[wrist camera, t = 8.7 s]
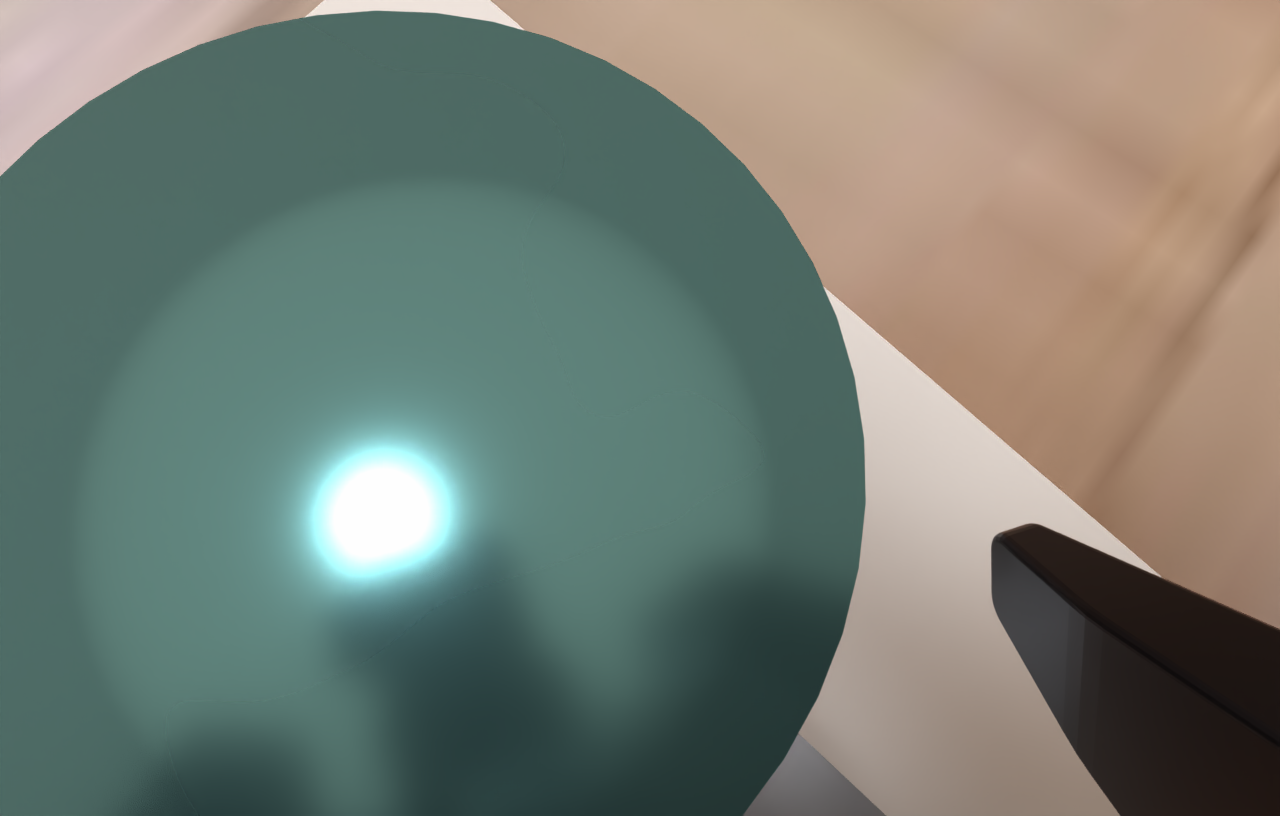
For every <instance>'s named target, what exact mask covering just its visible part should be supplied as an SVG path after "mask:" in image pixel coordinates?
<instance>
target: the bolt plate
mask: <svg viewBox="0 0 1280 816" xmlns="http://www.w3.org/2000/svg"><path fill="white" fill-rule="evenodd" d="M363 11H402V12H429V13H440V14H447V15H453V16H459V17H466V18H472V19H479V20H485V21H491V22H496V23H500V24H503V25H507V26H510V27H514V28H517V29H521V30H524V29H523V28H522V27H520V26H519V25H518V24H517V23H516V22H515V21H514V20H512V19H511V18H510V17H509V16H508V15H507V14H505V13H504V12H503V11H502V10H501V9H500V8H498V7H497V6H496V5H495V4H494V3H493V2H491V1H490V0H324V1H323V2H322V3H321V4H319V5H318V6H317V7H316V8H315V9H314V10H313V11H311V12H310V13H309V14H308V15H307V16H306V17H309V16H315V15H325V14H338V13H350V12H363ZM824 289H825V292H826V294H827V296H828V298H829V301H830V303H831V305H832V307H833V310H834V312H835V314H836V316H837V319H838V322H839V326H840V329H841V333H842V336H843V339H844V343H845V346H846V350H847V353H848V356H849V360H850V363H851V367H852V370H853V373H854V377H855V383H856V389H857V396H858V402H859V409H860V415H861V421H862V428H863V434H864V449H865V492H866V506H865V515H864V524H863V533H862V543H861V552H860V561H859V569H858V573H857V577H856V582H855V586H854V590H853V594H852V598H851V602H850V606H849V610H848V614H847V618H846V623H845V627H844V631H843V634H842V637H841V640H840V642H839V645H838V647H837V650H836V652H835V655H834V658H833V660H832V663H831V665H830V668H829V670H828V673H827V676H826V678H825V681H824V683H823V686H822V688H821V691H820V694H819V696H818V698H817V700H816V702H815V704H814V706H813V707H812V709H811V711H810V713H809V715H808V717H807V718H806V720H805V722H804V724H803V726H802V727H801V729H800V731H799V734H800V735H801V736H802V737H803V738H804V739H805V740H806V741H807V742H808V743H809V744H810V745H811V746H813V747H814V748H815V749H816V750H817V751H818V752H819V753H820V754H821V755H822V756H823V757H824V758H825V759H826V760H827V761H829V762H830V763H831V764H832V765H833V766H834V767H835V768H836V769H837V770H838V771H839V772H840V773H841V774H842V775H843V776H845V777H846V778H847V779H848V780H849V781H850V782H851V783H852V784H853V785H854V786H855V787H856V788H857V789H858V790H859V791H861V792H862V793H863V794H864V795H865V796H866V797H867V798H868V799H869V800H870V801H871V802H872V803H873V804H874V805H875V806H877V807H878V808H879V809H880V810H881V811H882V812H883V813H884V814H885V815H886V816H1120V815H1119V813H1118V812H1117V811H1116V809H1115V808H1114V807H1113V805H1112V804H1111V802H1110V801H1109V800H1108V798H1107V797H1106V795H1105V794H1104V793H1103V791H1102V790H1101V789H1100V787H1099V786H1098V784H1097V783H1096V782H1095V780H1094V779H1093V777H1092V776H1091V775H1090V773H1089V772H1088V770H1087V769H1086V767H1085V766H1084V764H1083V763H1082V761H1081V760H1080V759H1079V757H1078V756H1077V754H1076V753H1075V751H1074V749H1073V748H1072V746H1071V744H1070V743H1069V741H1068V739H1067V738H1066V736H1065V734H1064V733H1063V731H1062V729H1061V727H1060V726H1059V724H1058V722H1057V720H1056V719H1055V717H1054V715H1053V713H1052V712H1051V710H1050V708H1049V706H1048V705H1047V703H1046V701H1045V699H1044V698H1043V696H1042V694H1041V692H1040V691H1039V689H1038V687H1037V685H1036V684H1035V682H1034V680H1033V678H1032V676H1031V675H1030V673H1029V671H1028V669H1027V668H1026V666H1025V664H1024V662H1023V661H1022V659H1021V657H1020V655H1019V654H1018V652H1017V650H1016V648H1015V647H1014V645H1013V643H1012V641H1011V640H1010V638H1009V636H1008V634H1007V633H1006V631H1005V629H1004V627H1003V626H1002V624H1001V622H1000V620H999V618H998V616H997V614H996V611H995V609H994V605H993V601H992V594H991V544H992V540H993V538H994V536H995V535H996V534H998V533H1000V532H1003V531H1006V530H1009V529H1012V528H1015V527H1018V526H1022V525H1025V524H1028V523H1035V524H1040V525H1043V526H1045V527H1047V528H1050V529H1052V530H1054V531H1056V532H1059V533H1061V534H1063V535H1066V536H1068V537H1070V538H1072V539H1075V540H1077V541H1079V542H1082V543H1084V544H1086V545H1088V546H1091V547H1093V548H1095V549H1098V550H1100V551H1102V552H1104V553H1107V554H1109V555H1111V556H1114V557H1116V558H1118V559H1120V560H1123V561H1125V562H1127V563H1130V564H1132V565H1134V566H1136V567H1139V568H1141V569H1143V570H1146V571H1148V572H1150V573H1152V574H1155V575H1157V576H1159V577H1161V576H1160V575H1159V574H1158V573H1156V572H1155V571H1154V570H1153V569H1152V568H1151V567H1149V566H1148V565H1147V564H1146V563H1145V562H1144V561H1142V560H1141V559H1140V558H1139V557H1138V556H1137V555H1135V554H1134V553H1133V552H1132V551H1131V550H1130V549H1128V548H1127V547H1126V546H1125V545H1124V544H1123V543H1121V542H1120V541H1119V540H1118V539H1117V538H1116V537H1114V536H1113V535H1112V534H1111V533H1110V532H1109V531H1107V530H1106V529H1105V528H1104V527H1103V526H1102V525H1101V524H1099V523H1098V522H1097V521H1096V520H1095V519H1094V518H1092V517H1091V516H1090V515H1089V514H1088V513H1087V512H1085V511H1084V510H1083V509H1082V508H1081V507H1080V506H1078V505H1077V504H1076V503H1075V502H1074V501H1073V500H1071V499H1070V498H1069V497H1068V496H1067V495H1066V494H1064V493H1063V492H1062V491H1061V490H1060V489H1059V488H1057V487H1056V486H1055V485H1054V484H1053V483H1052V482H1050V481H1049V480H1048V479H1047V478H1046V477H1045V476H1043V475H1042V474H1041V473H1040V472H1039V471H1038V470H1036V469H1035V468H1034V467H1033V466H1032V465H1031V464H1029V463H1028V462H1027V461H1026V460H1025V459H1024V458H1022V457H1021V456H1020V455H1019V454H1018V453H1017V452H1015V451H1014V450H1013V449H1012V448H1011V447H1010V446H1008V445H1007V444H1006V443H1005V442H1004V441H1003V440H1002V439H1000V438H999V437H998V436H997V435H996V434H995V433H993V432H992V431H991V430H990V429H989V428H988V427H986V426H985V425H984V424H983V423H982V422H981V421H979V420H978V419H977V418H976V417H975V416H974V415H972V414H971V413H970V412H969V411H968V410H967V409H965V408H964V407H963V406H962V405H961V404H960V403H958V402H957V401H956V400H955V399H954V398H953V397H951V396H950V395H949V394H948V393H947V392H946V391H944V390H943V389H942V388H941V387H940V386H939V385H937V384H936V383H935V382H934V381H933V380H932V379H930V378H929V377H928V376H927V375H926V374H925V373H923V372H922V371H921V370H920V369H919V368H918V367H916V366H915V365H914V364H913V363H912V362H911V361H909V360H908V359H907V358H906V357H905V356H904V355H903V354H901V353H900V352H899V351H898V350H897V349H896V348H894V347H893V346H892V345H891V344H890V343H889V342H887V341H886V340H885V339H884V338H883V337H882V336H880V335H879V334H878V333H877V332H876V331H875V330H873V329H872V328H871V327H870V326H869V325H868V324H866V323H865V322H864V321H863V320H862V319H861V318H859V317H858V316H857V315H856V314H855V313H854V312H852V311H851V310H850V309H849V308H848V307H847V306H845V305H844V304H843V303H842V302H841V301H840V300H838V299H837V298H836V297H835V296H834V295H833V294H831V293H830V292H829V291H828V290H827V289H826V288H824Z"/></svg>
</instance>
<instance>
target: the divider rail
mask: <svg viewBox="0 0 1280 816" xmlns="http://www.w3.org/2000/svg"><path fill="white" fill-rule="evenodd" d="M743 816H886V815H885V814H884V813H883V812H882V811H881V810H880V809H879V808H878V807H877V806H875V805H874V804H873V803H872V802H871V801H870V800H869V799H868V798H867V797H866V796H865V795H864V794H863V793H862V792H861V791H859V790H858V789H857V788H856V787H855V786H854V785H853V784H852V783H851V782H850V781H849V780H848V779H847V778H846V777H845V776H843V775H842V774H841V773H840V772H839V771H838V770H837V769H836V768H835V767H834V766H833V765H832V764H831V763H830V762H829V761H827V760H826V759H825V758H824V757H823V756H822V755H821V754H820V753H819V752H818V751H817V750H816V749H815V748H814V747H813V746H811V745H810V744H809V743H808V742H807V741H806V740H805V739H804V738H803V737H802V736H801V735H800V734H799V733H798V735H797V737H796V738H795V740H794V742H793V744H792V746H791V747H790V749H789V751H788V753H787V755H786V757H785V758H784V760H783V761H782V763H781V764H780V765H779V767H778V768H777V769H776V771H775V772H774V773H773V775H772V776H771V778H770V779H769V780H768V782H767V783H766V784H765V786H764V787H763V788H762V790H761V791H760V793H759V794H758V795H757V797H756V798H755V799H754V801H753V802H752V803H751V805H750V806H749V807H748V809H747V810H746V812H745V813H744V814H743Z"/></svg>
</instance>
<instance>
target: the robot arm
mask: <svg viewBox="0 0 1280 816" xmlns="http://www.w3.org/2000/svg"><path fill="white" fill-rule="evenodd" d="M991 594H992V601H993V605H994V609H995V611H996V614H997V616H998V618H999V620H1000V622H1001V624H1002V626H1003V627H1004V629H1005V631H1006V633H1007V634H1008V636H1009V638H1010V640H1011V641H1012V643H1013V645H1014V647H1015V648H1016V650H1017V652H1018V654H1019V655H1020V657H1021V659H1022V661H1023V662H1024V664H1025V666H1026V668H1027V669H1028V671H1029V673H1030V675H1031V676H1032V678H1033V680H1034V682H1035V684H1036V685H1037V687H1038V689H1039V691H1040V692H1041V694H1042V696H1043V698H1044V699H1045V701H1046V703H1047V705H1048V706H1049V708H1050V710H1051V712H1052V713H1053V715H1054V717H1055V719H1056V720H1057V722H1058V724H1059V726H1060V727H1061V729H1062V731H1063V733H1064V734H1065V736H1066V738H1067V739H1068V741H1069V743H1070V744H1071V746H1072V748H1073V749H1074V751H1075V753H1076V754H1077V756H1078V757H1079V759H1080V760H1081V761H1082V763H1083V764H1084V766H1085V767H1086V769H1087V770H1088V772H1089V773H1090V775H1091V776H1092V777H1093V779H1094V780H1095V782H1096V783H1097V784H1098V786H1099V787H1100V789H1101V790H1102V791H1103V793H1104V794H1105V795H1106V797H1107V798H1108V800H1109V801H1110V802H1111V804H1112V805H1113V807H1114V808H1115V809H1116V811H1117V812H1118V813H1119V815H1120V816H1280V629H1278V628H1276V627H1274V626H1271V625H1269V624H1267V623H1264V622H1262V621H1260V620H1258V619H1255V618H1253V617H1251V616H1248V615H1246V614H1244V613H1242V612H1239V611H1237V610H1235V609H1232V608H1230V607H1228V606H1226V605H1223V604H1221V603H1219V602H1216V601H1214V600H1212V599H1210V598H1207V597H1205V596H1203V595H1200V594H1198V593H1196V592H1194V591H1191V590H1189V589H1187V588H1184V587H1182V586H1180V585H1178V584H1175V583H1173V582H1171V581H1168V580H1166V579H1164V578H1162V577H1159V576H1157V575H1155V574H1152V573H1150V572H1148V571H1146V570H1143V569H1141V568H1139V567H1136V566H1134V565H1132V564H1130V563H1127V562H1125V561H1123V560H1120V559H1118V558H1116V557H1114V556H1111V555H1109V554H1107V553H1104V552H1102V551H1100V550H1098V549H1095V548H1093V547H1091V546H1088V545H1086V544H1084V543H1082V542H1079V541H1077V540H1075V539H1072V538H1070V537H1068V536H1066V535H1063V534H1061V533H1059V532H1056V531H1054V530H1052V529H1050V528H1047V527H1045V526H1043V525H1040V524H1035V523H1028V524H1025V525H1022V526H1018V527H1015V528H1012V529H1009V530H1006V531H1003V532H1000V533H998V534H996V535H995V536H994V538H993V540H992V544H991Z"/></svg>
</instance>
